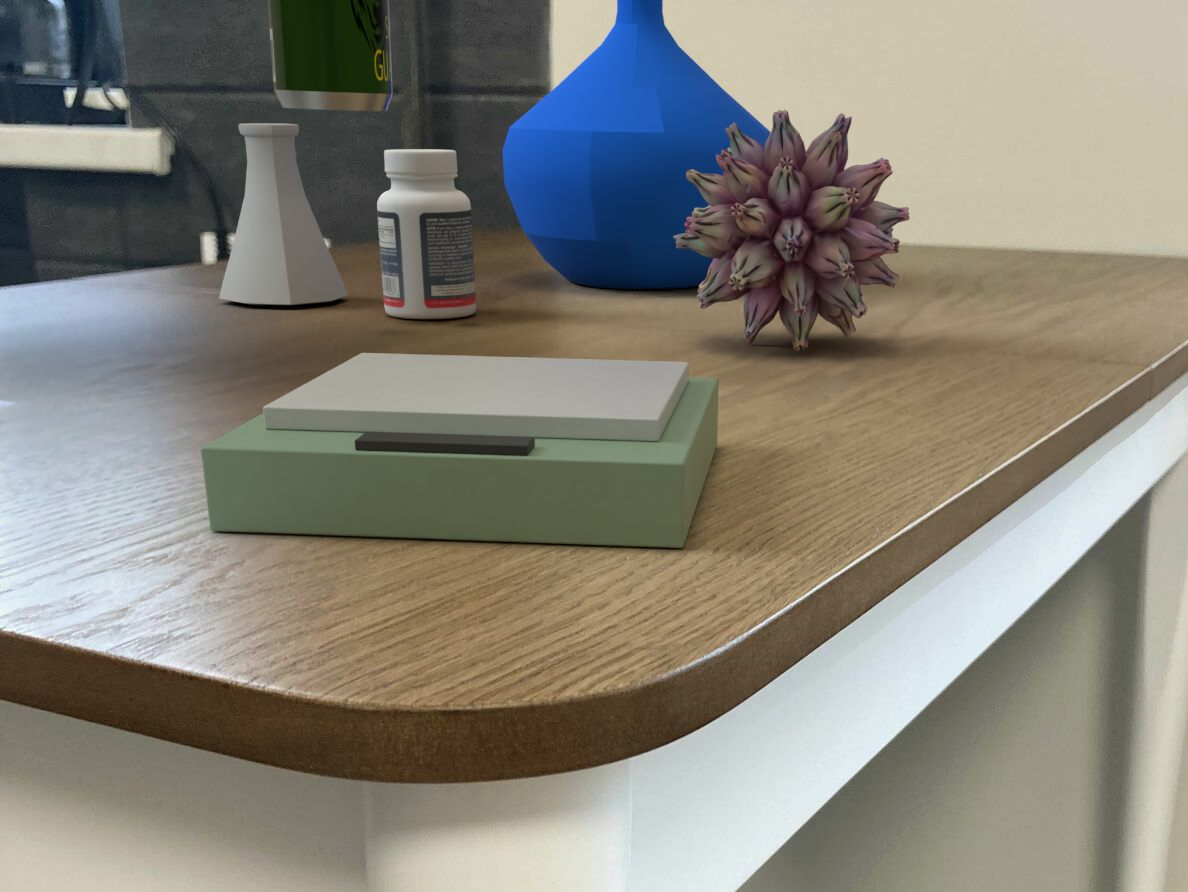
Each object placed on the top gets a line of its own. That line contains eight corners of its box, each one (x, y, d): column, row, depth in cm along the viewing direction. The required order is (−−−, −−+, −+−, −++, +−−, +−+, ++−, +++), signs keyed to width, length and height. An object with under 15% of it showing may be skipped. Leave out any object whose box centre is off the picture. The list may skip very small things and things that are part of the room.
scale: (209, 531, 44) (196, 422, 43) (348, 433, 57) (342, 347, 56) (683, 549, 43) (684, 437, 42) (717, 445, 56) (719, 358, 55)
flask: (197, 303, 90) (176, 123, 86) (277, 291, 96) (261, 121, 92) (293, 312, 88) (276, 126, 84) (370, 299, 94) (357, 124, 90)
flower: (923, 374, 80) (822, 354, 70) (732, 342, 86) (613, 320, 76) (968, 145, 78) (869, 91, 67) (767, 128, 83) (649, 75, 73)
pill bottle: (488, 310, 90) (481, 149, 86) (460, 322, 85) (451, 152, 81) (403, 307, 90) (393, 147, 87) (370, 318, 86) (358, 150, 82)
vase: (453, 277, 105) (439, -33, 97) (654, 262, 116) (655, -16, 109) (622, 305, 93) (620, -47, 85) (827, 285, 104) (842, -27, 96)
